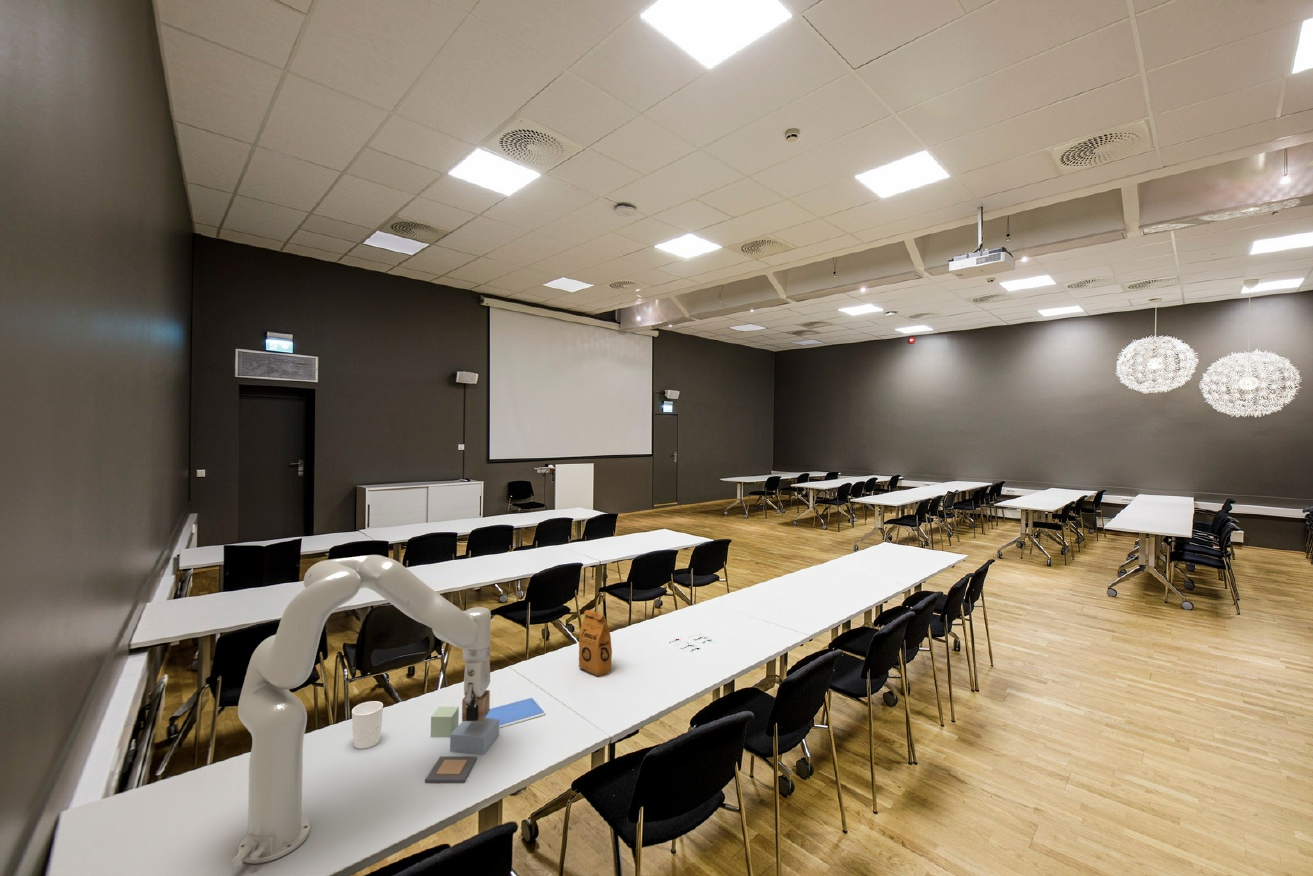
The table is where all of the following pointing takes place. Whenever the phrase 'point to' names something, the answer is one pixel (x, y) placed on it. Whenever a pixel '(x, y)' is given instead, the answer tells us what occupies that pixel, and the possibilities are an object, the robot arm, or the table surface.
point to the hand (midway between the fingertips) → (476, 713)
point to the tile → (451, 769)
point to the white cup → (367, 724)
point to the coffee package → (595, 644)
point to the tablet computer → (516, 712)
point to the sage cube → (444, 721)
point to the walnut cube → (479, 706)
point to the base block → (474, 736)
